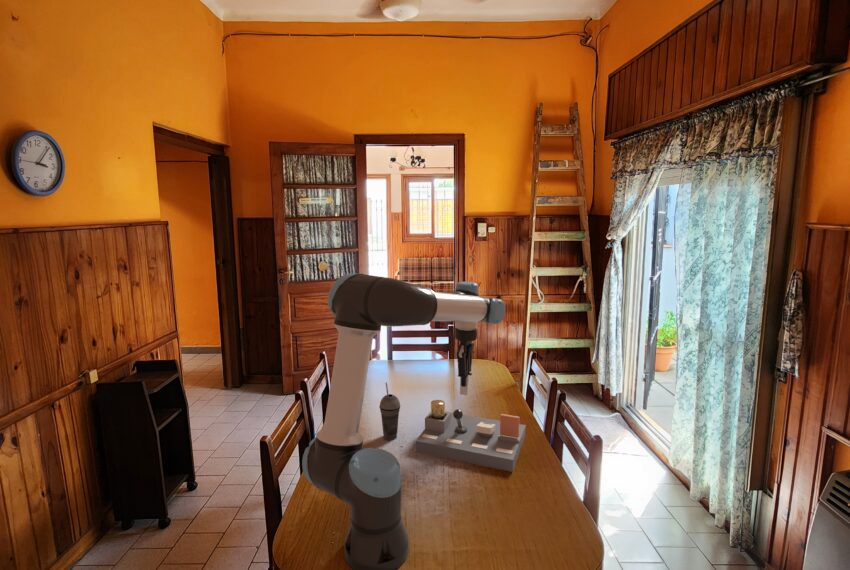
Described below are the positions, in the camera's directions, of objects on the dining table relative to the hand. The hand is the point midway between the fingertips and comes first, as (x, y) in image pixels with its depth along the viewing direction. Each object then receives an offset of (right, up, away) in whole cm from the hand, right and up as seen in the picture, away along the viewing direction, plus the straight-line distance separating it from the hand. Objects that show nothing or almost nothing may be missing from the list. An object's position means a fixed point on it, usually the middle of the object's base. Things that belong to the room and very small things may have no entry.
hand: (464, 394), depth 161 cm
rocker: (+7, -11, -5) cm, 14 cm away
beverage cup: (-26, -16, +2) cm, 30 cm away
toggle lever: (-1, -11, -1) cm, 11 cm away
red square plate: (+14, -12, -7) cm, 20 cm away
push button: (-9, -9, +1) cm, 13 cm away
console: (+3, -16, -2) cm, 17 cm away
